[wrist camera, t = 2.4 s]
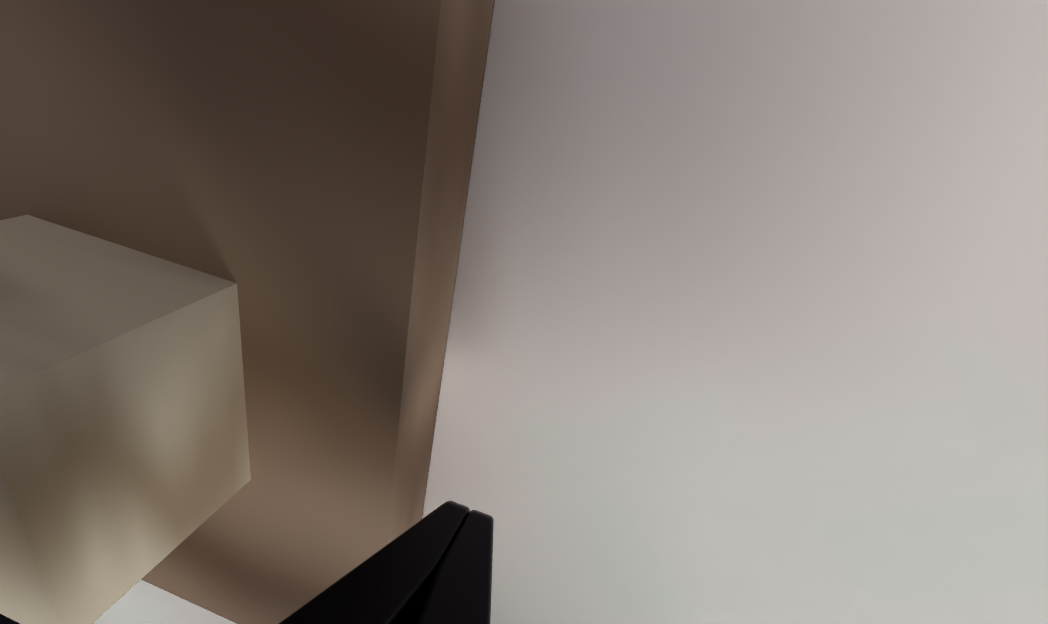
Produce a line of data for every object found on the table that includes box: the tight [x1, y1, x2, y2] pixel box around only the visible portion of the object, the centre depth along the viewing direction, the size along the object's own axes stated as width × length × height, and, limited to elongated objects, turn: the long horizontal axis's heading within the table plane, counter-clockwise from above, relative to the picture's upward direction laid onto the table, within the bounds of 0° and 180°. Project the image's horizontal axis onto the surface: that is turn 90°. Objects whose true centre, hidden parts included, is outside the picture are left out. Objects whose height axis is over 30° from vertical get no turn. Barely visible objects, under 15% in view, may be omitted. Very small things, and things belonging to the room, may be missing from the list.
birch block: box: [0, 215, 251, 624], centre depth 9 cm, size 5×5×4 cm
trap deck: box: [0, 0, 495, 624], centre depth 13 cm, size 17×22×2 cm
